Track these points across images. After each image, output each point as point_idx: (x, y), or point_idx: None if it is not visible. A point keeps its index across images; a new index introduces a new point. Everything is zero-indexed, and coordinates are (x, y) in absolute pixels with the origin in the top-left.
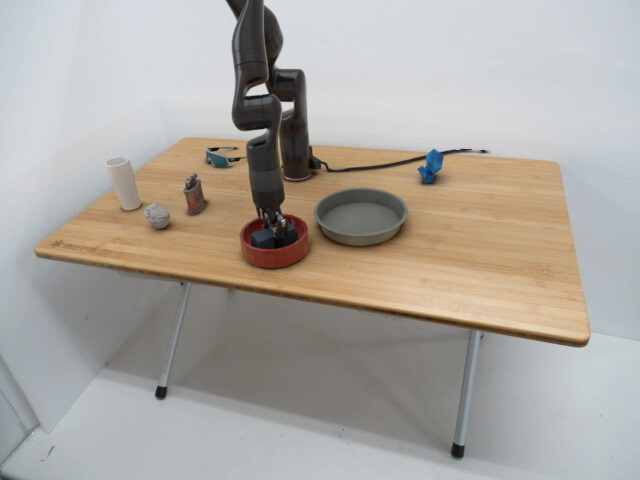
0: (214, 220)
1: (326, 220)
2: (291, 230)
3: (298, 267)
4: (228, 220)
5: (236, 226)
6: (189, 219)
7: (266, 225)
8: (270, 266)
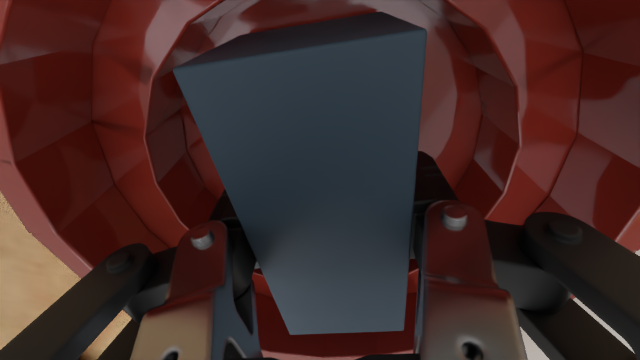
0: (16, 277)
1: None
2: (421, 96)
3: None
4: (8, 245)
5: None
6: (19, 320)
7: (247, 287)
8: None
